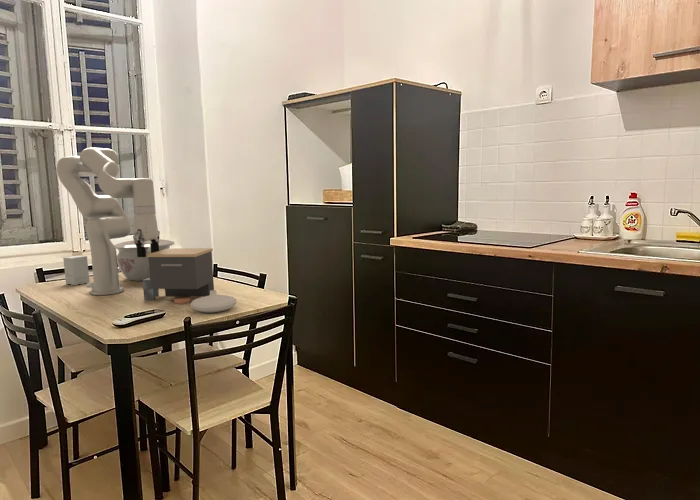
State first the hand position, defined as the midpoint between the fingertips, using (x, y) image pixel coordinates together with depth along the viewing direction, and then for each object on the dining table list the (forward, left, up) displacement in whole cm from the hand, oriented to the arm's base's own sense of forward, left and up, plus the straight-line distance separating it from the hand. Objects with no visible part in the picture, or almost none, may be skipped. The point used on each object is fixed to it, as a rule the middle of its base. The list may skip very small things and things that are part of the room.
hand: (148, 255), depth 193 cm
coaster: (+15, -4, -18) cm, 23 cm away
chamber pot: (-26, +41, -18) cm, 51 cm away
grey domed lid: (+32, -15, -18) cm, 39 cm away
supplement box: (-52, +28, -18) cm, 62 cm away
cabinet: (+14, -1, -17) cm, 22 cm away
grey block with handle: (+9, 0, -17) cm, 20 cm away
